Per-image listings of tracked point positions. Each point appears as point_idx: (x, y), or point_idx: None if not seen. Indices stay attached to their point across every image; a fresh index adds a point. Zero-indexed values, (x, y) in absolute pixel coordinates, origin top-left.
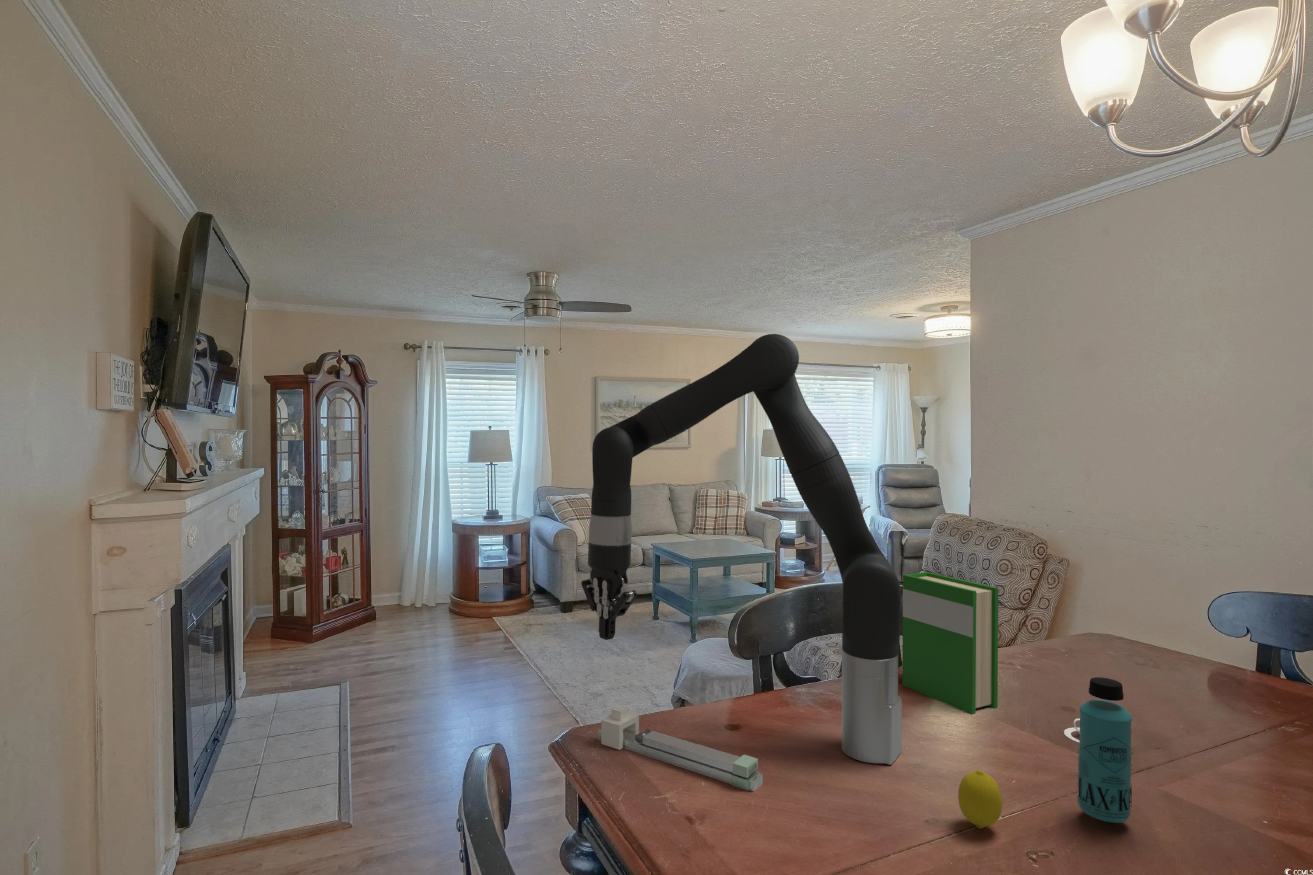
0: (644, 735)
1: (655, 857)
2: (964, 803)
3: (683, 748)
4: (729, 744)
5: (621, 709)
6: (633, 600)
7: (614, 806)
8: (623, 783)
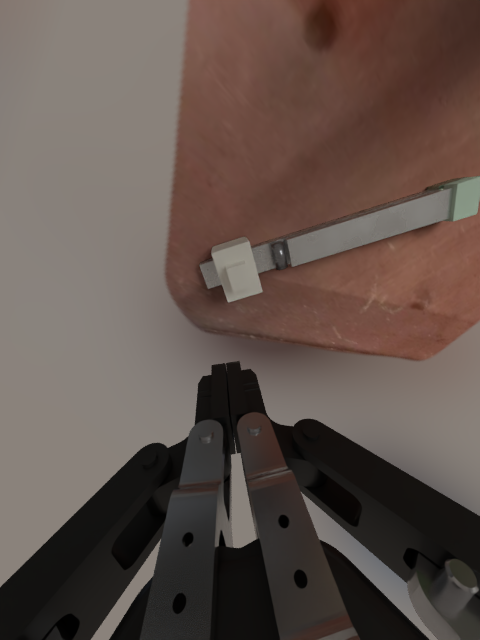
0: (286, 258)
1: (420, 358)
2: None
3: (362, 241)
4: (360, 112)
5: (245, 279)
6: (468, 511)
7: (345, 347)
8: (320, 319)
